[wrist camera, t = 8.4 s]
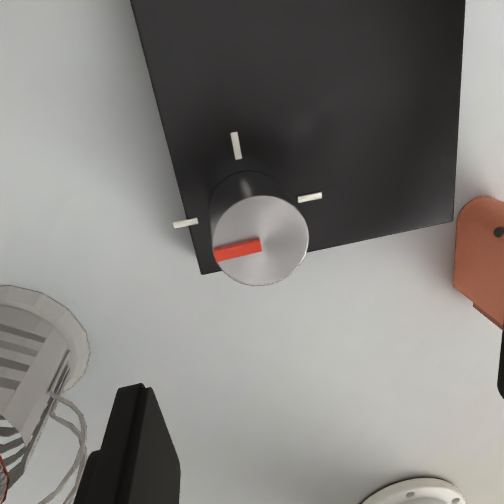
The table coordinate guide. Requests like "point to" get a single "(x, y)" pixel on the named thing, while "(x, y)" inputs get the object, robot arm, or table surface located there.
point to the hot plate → (311, 107)
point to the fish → (481, 256)
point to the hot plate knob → (256, 229)
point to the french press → (37, 377)
